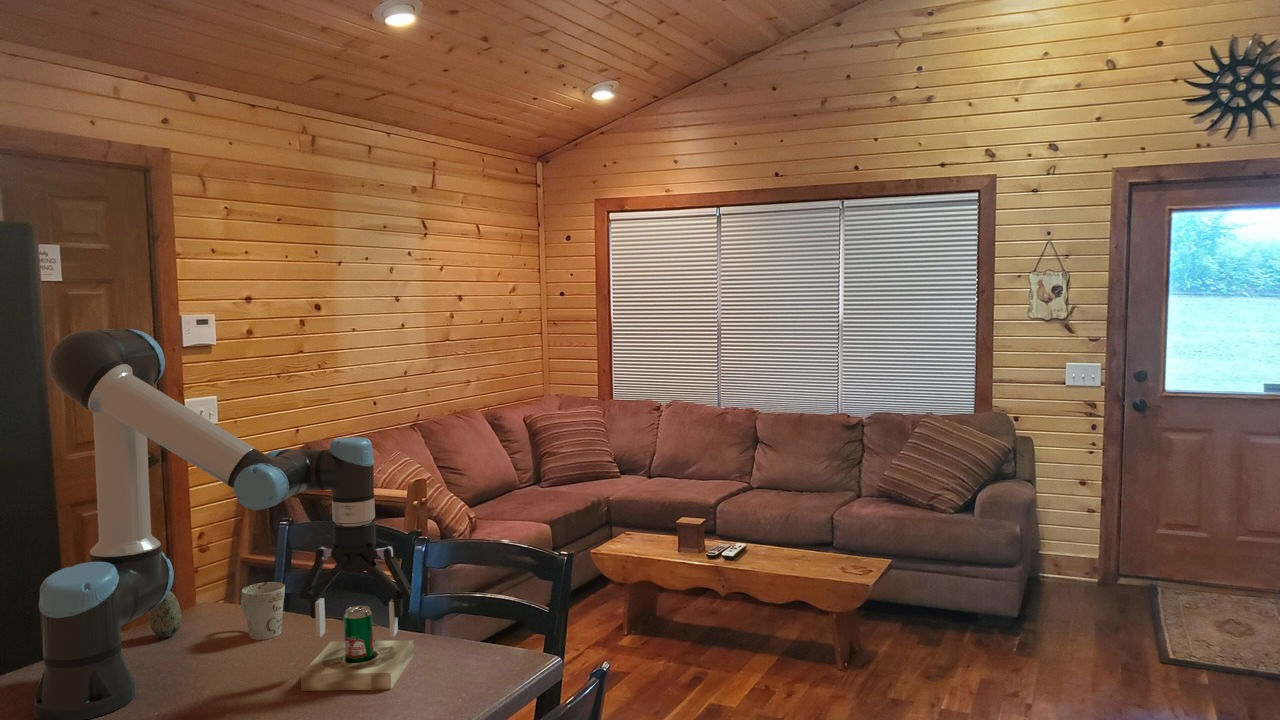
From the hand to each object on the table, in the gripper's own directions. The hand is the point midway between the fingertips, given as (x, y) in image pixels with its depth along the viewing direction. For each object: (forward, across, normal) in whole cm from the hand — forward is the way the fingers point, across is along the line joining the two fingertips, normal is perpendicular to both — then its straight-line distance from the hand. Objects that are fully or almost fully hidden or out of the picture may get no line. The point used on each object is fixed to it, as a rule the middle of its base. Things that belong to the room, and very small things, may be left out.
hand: (357, 634), depth 173 cm
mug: (+8, -28, +22) cm, 36 cm away
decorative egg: (+8, -47, +21) cm, 52 cm away
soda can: (+7, 0, 0) cm, 7 cm away
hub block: (+7, 0, 0) cm, 7 cm away
